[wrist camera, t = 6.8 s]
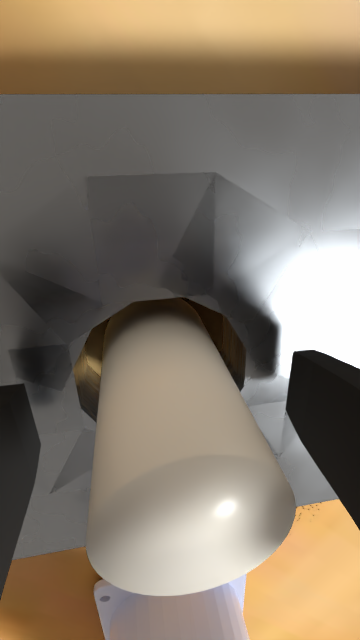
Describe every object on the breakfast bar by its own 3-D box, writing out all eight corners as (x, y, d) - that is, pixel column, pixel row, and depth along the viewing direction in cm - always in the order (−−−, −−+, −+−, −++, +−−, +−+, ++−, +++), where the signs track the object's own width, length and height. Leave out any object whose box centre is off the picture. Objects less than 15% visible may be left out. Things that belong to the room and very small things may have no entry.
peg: (207, 372, 13) (291, 568, 7) (115, 389, 12) (110, 614, 6) (200, 285, 11) (301, 433, 5) (94, 302, 11) (59, 484, 5)
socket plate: (348, 447, 16) (383, 490, 14) (-52, 513, 14) (-84, 578, 11) (432, 109, 10) (517, 93, 8) (-248, 115, 8) (-393, 94, 5)
